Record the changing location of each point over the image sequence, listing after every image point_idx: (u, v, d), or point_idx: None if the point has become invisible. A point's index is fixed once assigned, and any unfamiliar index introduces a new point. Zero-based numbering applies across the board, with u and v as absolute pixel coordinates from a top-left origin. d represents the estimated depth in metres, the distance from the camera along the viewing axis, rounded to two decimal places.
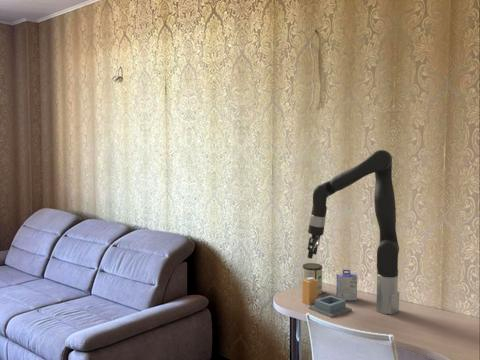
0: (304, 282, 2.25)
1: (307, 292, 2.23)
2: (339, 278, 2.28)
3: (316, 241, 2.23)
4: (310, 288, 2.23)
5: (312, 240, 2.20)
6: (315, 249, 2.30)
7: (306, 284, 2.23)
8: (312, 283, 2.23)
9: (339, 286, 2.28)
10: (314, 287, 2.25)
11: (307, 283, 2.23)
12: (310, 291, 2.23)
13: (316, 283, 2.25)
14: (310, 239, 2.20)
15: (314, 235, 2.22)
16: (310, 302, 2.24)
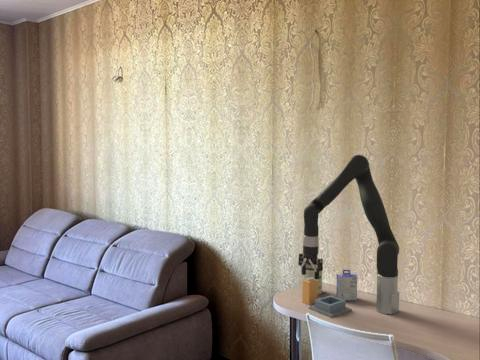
0: (304, 282, 2.25)
1: (307, 292, 2.23)
2: (339, 278, 2.28)
3: None
4: (310, 288, 2.23)
5: (321, 260, 2.20)
6: (305, 269, 2.29)
7: (306, 284, 2.23)
8: (312, 283, 2.23)
9: (339, 286, 2.28)
10: (314, 287, 2.25)
11: (307, 283, 2.23)
12: (310, 291, 2.23)
13: (316, 283, 2.25)
14: (319, 260, 2.19)
15: (316, 255, 2.22)
16: (310, 302, 2.24)
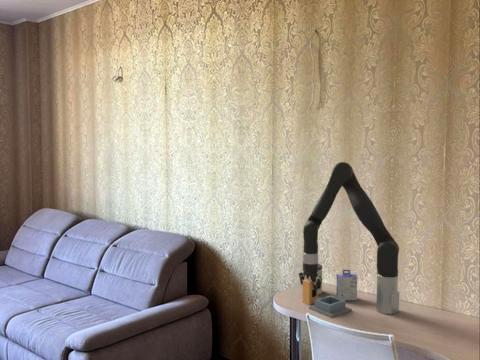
0: (304, 282, 2.25)
1: (307, 292, 2.23)
2: (339, 278, 2.28)
3: None
4: (310, 288, 2.23)
5: (321, 280, 2.21)
6: None
7: (307, 284, 2.23)
8: None
9: (339, 286, 2.28)
10: None
11: (307, 283, 2.23)
12: (310, 291, 2.23)
13: None
14: (319, 280, 2.20)
15: (316, 272, 2.23)
16: (310, 302, 2.24)
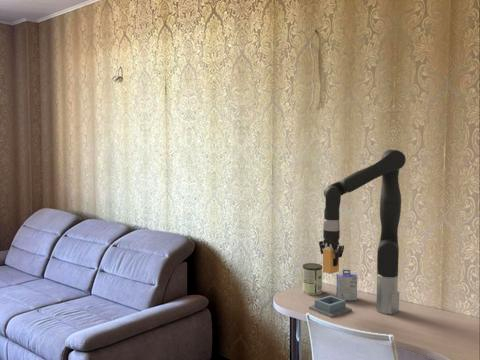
0: (325, 250, 2.13)
1: (328, 260, 2.11)
2: (339, 278, 2.28)
3: None
4: (331, 257, 2.11)
5: (343, 248, 2.09)
6: None
7: (327, 253, 2.11)
8: None
9: (339, 286, 2.28)
10: None
11: (328, 251, 2.11)
12: (331, 260, 2.11)
13: None
14: (341, 247, 2.08)
15: (338, 240, 2.11)
16: (331, 271, 2.12)
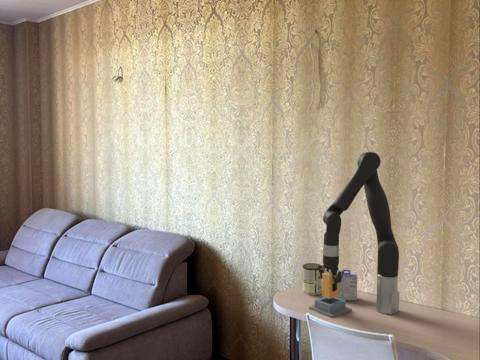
0: (324, 275, 2.14)
1: (327, 285, 2.13)
2: None
3: None
4: (330, 282, 2.12)
5: (342, 273, 2.10)
6: None
7: (327, 278, 2.13)
8: (333, 276, 2.13)
9: (339, 286, 2.28)
10: None
11: (327, 276, 2.12)
12: (330, 285, 2.12)
13: None
14: (340, 273, 2.09)
15: (337, 265, 2.12)
16: (330, 296, 2.13)
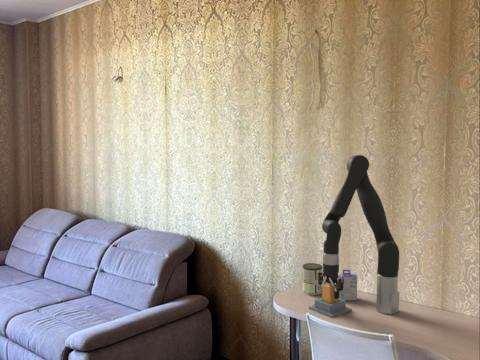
0: (324, 287, 2.14)
1: (327, 297, 2.13)
2: None
3: None
4: (330, 293, 2.12)
5: (342, 280, 2.10)
6: None
7: (327, 289, 2.13)
8: (332, 288, 2.13)
9: None
10: None
11: (327, 288, 2.13)
12: (330, 296, 2.13)
13: None
14: (341, 280, 2.09)
15: (337, 273, 2.12)
16: None
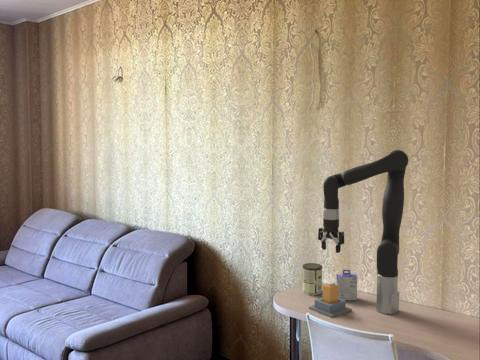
0: (324, 287, 2.14)
1: (327, 297, 2.13)
2: (339, 278, 2.28)
3: None
4: (330, 294, 2.12)
5: (343, 233, 2.15)
6: (325, 244, 2.24)
7: (327, 289, 2.13)
8: (333, 288, 2.13)
9: (339, 286, 2.28)
10: (335, 292, 2.14)
11: (327, 288, 2.13)
12: (330, 296, 2.13)
13: (337, 288, 2.15)
14: (341, 233, 2.14)
15: (337, 228, 2.17)
16: None
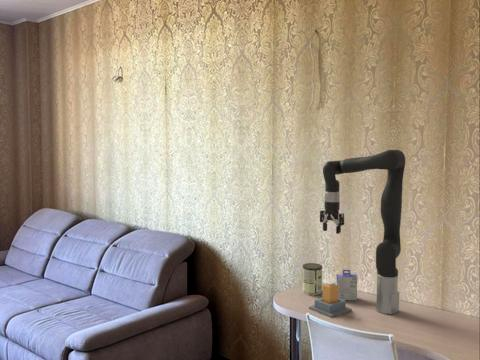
0: (324, 287, 2.14)
1: (327, 297, 2.13)
2: (339, 278, 2.28)
3: (337, 216, 2.31)
4: (330, 294, 2.12)
5: (343, 215, 2.27)
6: (326, 225, 2.36)
7: (327, 289, 2.13)
8: (333, 288, 2.13)
9: (339, 286, 2.28)
10: (335, 292, 2.14)
11: (327, 288, 2.13)
12: (330, 296, 2.13)
13: (337, 288, 2.15)
14: (341, 214, 2.26)
15: (338, 210, 2.29)
16: None
